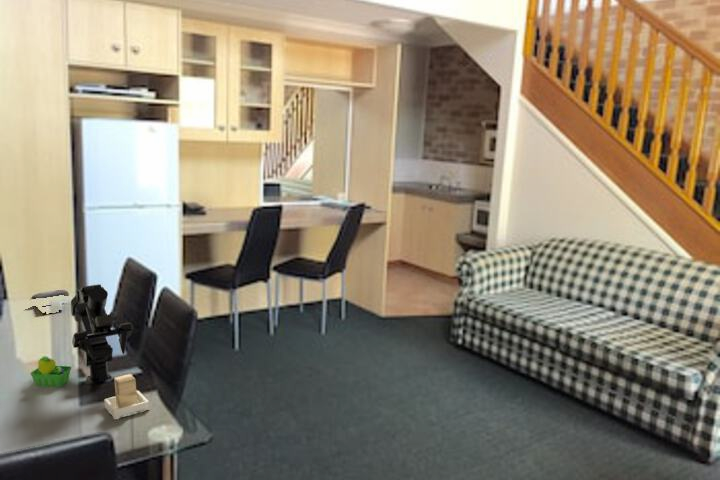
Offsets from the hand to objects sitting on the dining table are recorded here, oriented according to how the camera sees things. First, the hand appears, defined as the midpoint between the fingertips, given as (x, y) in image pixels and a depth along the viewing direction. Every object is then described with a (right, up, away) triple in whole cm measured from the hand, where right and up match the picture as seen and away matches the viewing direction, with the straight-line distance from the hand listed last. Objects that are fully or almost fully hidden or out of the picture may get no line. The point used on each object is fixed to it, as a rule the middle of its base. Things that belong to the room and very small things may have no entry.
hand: (109, 356), depth 195 cm
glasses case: (-76, +5, +108) cm, 132 cm away
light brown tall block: (+9, -15, -8) cm, 19 cm away
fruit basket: (-25, -12, +11) cm, 30 cm away
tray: (+9, -15, -8) cm, 19 cm away
